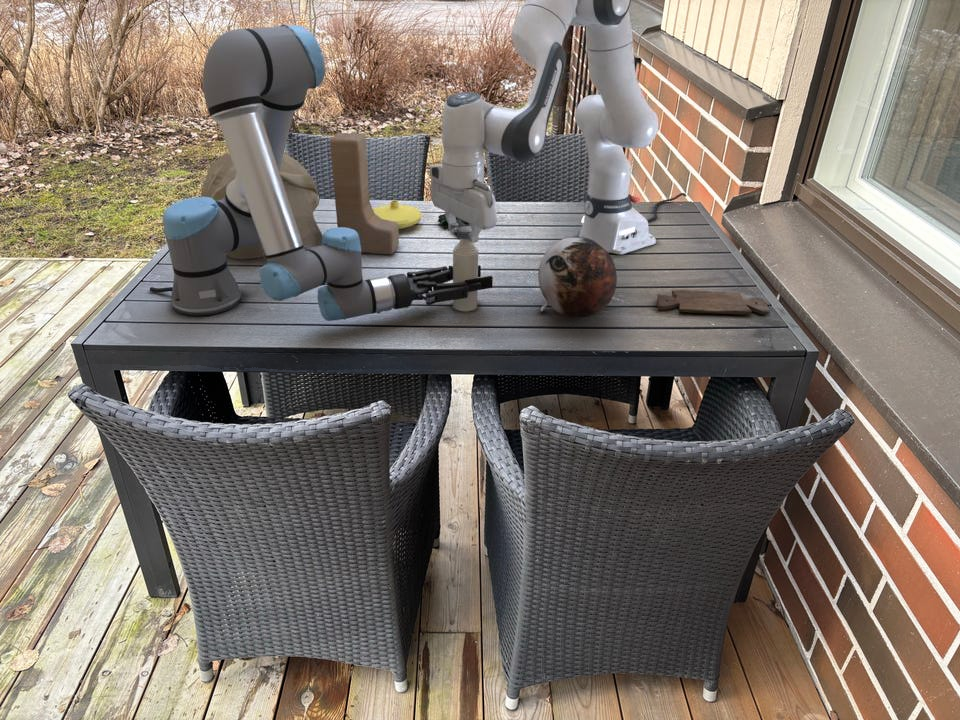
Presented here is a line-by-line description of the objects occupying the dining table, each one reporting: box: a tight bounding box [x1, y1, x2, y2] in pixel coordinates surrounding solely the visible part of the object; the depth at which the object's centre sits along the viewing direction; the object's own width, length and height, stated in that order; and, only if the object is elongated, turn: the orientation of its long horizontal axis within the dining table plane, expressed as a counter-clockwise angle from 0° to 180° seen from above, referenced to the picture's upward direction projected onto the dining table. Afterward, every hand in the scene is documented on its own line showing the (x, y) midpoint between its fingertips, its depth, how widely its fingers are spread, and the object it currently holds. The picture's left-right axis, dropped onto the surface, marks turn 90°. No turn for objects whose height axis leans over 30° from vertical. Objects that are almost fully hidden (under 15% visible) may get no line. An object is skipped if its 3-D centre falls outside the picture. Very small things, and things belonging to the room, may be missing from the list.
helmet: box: [200, 133, 323, 260], centre depth 189 cm, size 27×30×30 cm
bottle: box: [452, 238, 479, 312], centre depth 162 cm, size 6×6×18 cm
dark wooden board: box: [656, 289, 771, 316], centre depth 168 cm, size 26×2×10 cm
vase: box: [372, 199, 423, 230], centre depth 210 cm, size 16×16×7 cm
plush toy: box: [537, 236, 618, 319], centre depth 161 cm, size 22×18×20 cm
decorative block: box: [329, 132, 400, 255], centre depth 188 cm, size 8×15×30 cm, turn 82°
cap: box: [456, 226, 472, 239], centre depth 157 cm, size 4×4×2 cm
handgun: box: [437, 213, 471, 237], centre depth 211 cm, size 16×3×15 cm
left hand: (485, 276), depth 165 cm, fingers closed on bottle, 6 cm apart
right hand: (463, 236), depth 158 cm, fingers open, 6 cm apart
